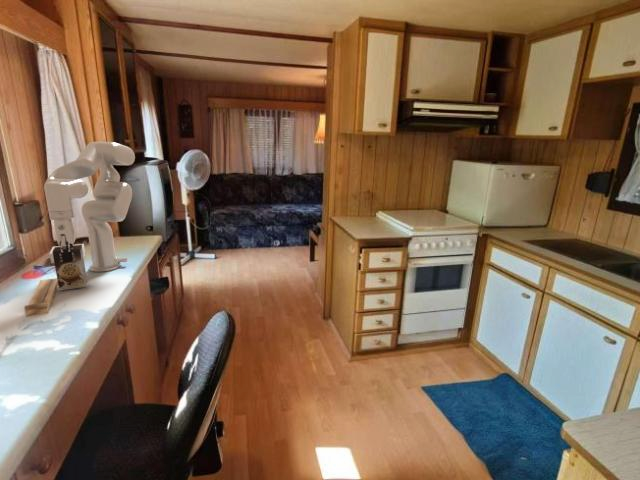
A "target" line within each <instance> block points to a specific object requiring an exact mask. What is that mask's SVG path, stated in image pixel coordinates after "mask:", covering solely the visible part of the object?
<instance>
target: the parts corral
mask: <svg viewBox="0 0 640 480" xmlns="http://www.w3.org/2000/svg"><path fill="white" fill-rule="evenodd" d="M78 245H82V250H83V257H84V258H85V255H86V249H85V244H84V243H77V244H73V246H78ZM55 247H61V245H58V246H56V245H55V246H52V248H51V250H50V251H49V258H50V263H51V265H52V264H55V263H54V258H53V252H52V251H53V250H54V249H55Z"/></svg>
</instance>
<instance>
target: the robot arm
mask: <svg viewBox="0 0 640 480" xmlns="http://www.w3.org/2000/svg"><path fill="white" fill-rule="evenodd" d="M135 155H136V154H135V152H134V150H133V149H132V148H131V147H129V146H127V145H123V144H121V143H117V142H114V141H113V142H112V141H90V142H89V143H88V144H87V145H86V146H85V147H84V149H83V150H81V152H80V153H79V155H78V156H77V158H76V159H75V160H73V161H71V162H68V163H65V164H63V165H62V166H60V167H58V168H56V169H54V170H53V171H52V172H51V174H50V175H49V176H48V177H47V179H46V181H45V183H44V185H43V189H44V194H45V201H46V205H47V210H48V215H49V220H50V221H53V224H54V231H55V238H56V243H57V244H58V246H61V255H62V260H63V262H72V261H73V258H72V252H71V251H70V246H73V245H75V244H74V243H75V241H76V239H77V238H76V234H75V229H74V223H73V220H72V219H74V218H75V216H74V215H75V214H74V209H73V203H72V200H73V199H82V198H84V197H85V196H87V194H88V193H89V185H88V183H86V182H85V181H84V180H83V179H84V178H88V177H92V176H93V175H95V174H96V173H97V172H98V171H99V175H98V178H97V181H96V183H95V185H94V188H93V191H92V195H93V196H92V197H93V198H94V199H93V200H87V201H85V202H84V203H83V204H82V205H81V214H82V217H83V220H84V222H85V225H86V229H87V235H88V241H89V247H90V248H89V249H90V256H91V261H92V264H91V265H89V266H88V268H89V271H92V272H95V273H102V272H108V271H113V270H116V269H118V268H120V267H121V263H127V262H128V257H124V256H123V257H119V256H117V254H116V249H115V247H116V246H115V241H114V234H113V230H112V227H111V225H110V224H109V223H118V222H123V221H124V220H125V218H126V217H127V214H128V211H129V208H130V204H131V202H132V198H133V189H132V186H131V185H130V184H129V183H127V182H124V181H120V180H121V176H120V173H119V172H118V171H117V169H116V168H114V166H131V165H133V164H134V162H135V159H136V156H135ZM67 246H68V247H67Z"/></svg>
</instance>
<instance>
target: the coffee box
mask: <svg viewBox="0 0 640 480" xmlns="http://www.w3.org/2000/svg"><path fill="white" fill-rule="evenodd" d="M67 247H68V246H67ZM70 251H71V252H72V258H73V261H72V262H63V260H62V255H61V247H55V249H54V250H53V251H52V252H53V258H54V263H53V264H54V268H55V275H56V278H57V281H58V287H57V288H58V290H59V291H64V290H71V289H80V288H85V287H87V284H88V279H87V272H86V265H85V257H83V250H82V245H78V246H70Z"/></svg>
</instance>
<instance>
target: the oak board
mask: <svg viewBox="0 0 640 480" xmlns="http://www.w3.org/2000/svg"><path fill="white" fill-rule="evenodd" d="M58 288H59V287H58V281H57V277H55V278H47V279H46V278H45V279H41V280H39V283H38V284H37V287H36V289H35V290H34V293H33V295H32V296H31V299H30V301H29V302H28V304H27V305H24V307H23V308H24V311H25V316H26V318H29V317H33V316H39V315H44V314H45V315H46V314H49V312H50V310H51V307H52V303H53V301H54V298H55V295H56V293H57V290H58Z"/></svg>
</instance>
